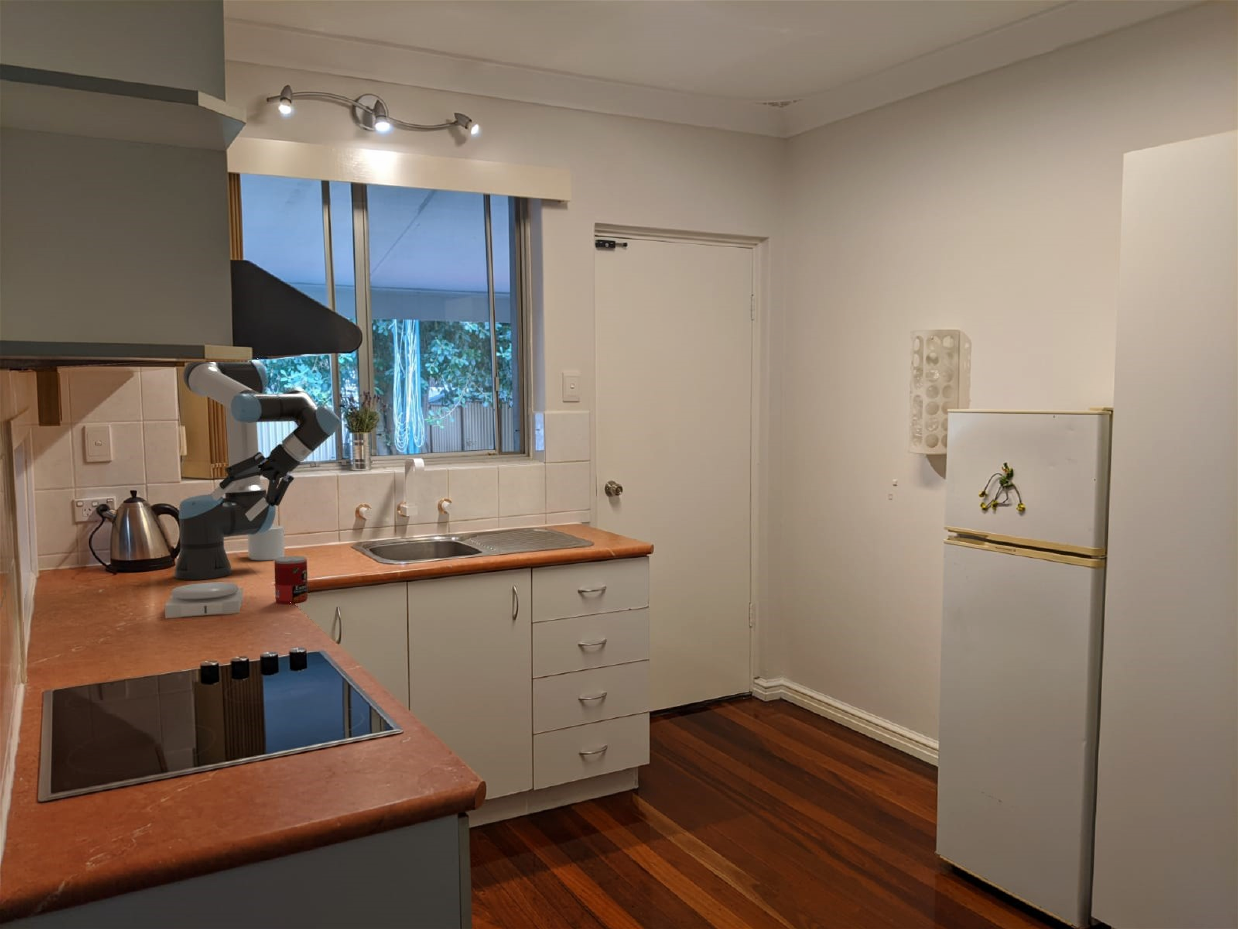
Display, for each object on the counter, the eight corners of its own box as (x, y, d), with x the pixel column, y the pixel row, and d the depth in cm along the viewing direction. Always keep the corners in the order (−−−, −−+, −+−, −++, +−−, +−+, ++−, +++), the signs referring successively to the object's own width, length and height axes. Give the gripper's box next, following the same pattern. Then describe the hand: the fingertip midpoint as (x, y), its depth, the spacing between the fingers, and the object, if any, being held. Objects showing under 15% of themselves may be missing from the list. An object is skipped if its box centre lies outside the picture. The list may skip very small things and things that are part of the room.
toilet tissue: (280, 560, 296) (279, 529, 296) (241, 561, 295) (240, 530, 294) (287, 555, 307) (287, 525, 306) (250, 555, 305) (249, 525, 305)
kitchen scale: (174, 604, 233) (173, 584, 233) (242, 599, 238) (242, 580, 238) (164, 619, 217) (163, 598, 217) (238, 614, 222) (237, 593, 222)
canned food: (297, 605, 232) (296, 561, 231) (269, 603, 234) (267, 560, 233) (313, 598, 240) (312, 556, 239) (285, 597, 241) (284, 555, 240)
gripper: (267, 439, 235) (204, 497, 233) (324, 480, 256) (266, 533, 254) (255, 422, 239) (192, 479, 237) (312, 464, 260) (255, 517, 258)
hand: (231, 507), depth 246 cm, fingers open, 13 cm apart
